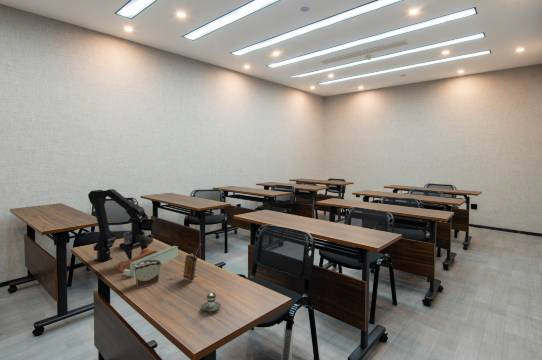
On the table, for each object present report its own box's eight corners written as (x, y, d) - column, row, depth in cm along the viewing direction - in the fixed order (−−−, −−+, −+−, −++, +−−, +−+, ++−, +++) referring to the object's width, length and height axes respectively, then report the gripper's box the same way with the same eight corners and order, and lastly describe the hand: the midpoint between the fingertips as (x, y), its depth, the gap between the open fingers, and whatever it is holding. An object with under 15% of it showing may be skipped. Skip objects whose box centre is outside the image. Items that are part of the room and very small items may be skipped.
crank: (153, 259, 165) (153, 246, 165) (160, 263, 160) (160, 249, 160) (116, 269, 150) (116, 254, 150) (122, 273, 145) (122, 257, 145)
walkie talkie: (205, 279, 140) (206, 242, 139) (183, 287, 130) (183, 248, 129) (188, 272, 148) (189, 237, 147) (166, 280, 138) (166, 243, 137)
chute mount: (123, 274, 142) (123, 261, 142) (168, 255, 172) (168, 244, 172) (134, 277, 140) (134, 263, 139) (177, 257, 170) (177, 246, 170)
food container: (155, 277, 140) (156, 257, 140) (161, 281, 136) (161, 260, 135) (129, 284, 132) (129, 263, 131) (134, 288, 127) (134, 266, 127)
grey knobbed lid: (199, 316, 107) (199, 303, 106) (193, 302, 117) (193, 290, 117) (230, 310, 112) (230, 298, 111) (222, 297, 123) (222, 285, 122)
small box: (141, 249, 184) (141, 232, 184) (131, 251, 179) (131, 234, 178) (133, 245, 191) (133, 230, 190) (123, 247, 186) (123, 231, 185)
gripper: (134, 235, 148) (134, 265, 148) (160, 228, 165) (160, 254, 166) (118, 233, 151) (118, 262, 152) (145, 226, 169) (145, 252, 170)
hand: (136, 257), depth 160 cm, fingers open, 9 cm apart
